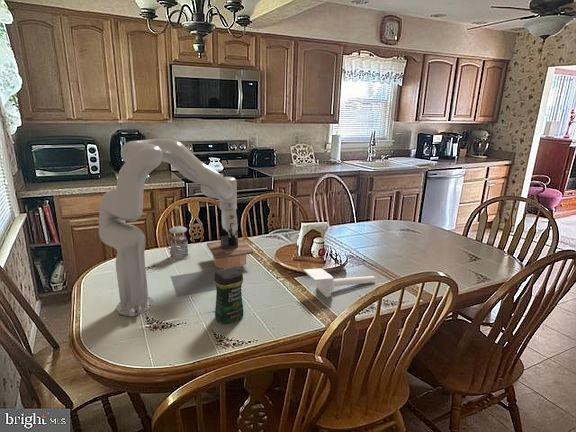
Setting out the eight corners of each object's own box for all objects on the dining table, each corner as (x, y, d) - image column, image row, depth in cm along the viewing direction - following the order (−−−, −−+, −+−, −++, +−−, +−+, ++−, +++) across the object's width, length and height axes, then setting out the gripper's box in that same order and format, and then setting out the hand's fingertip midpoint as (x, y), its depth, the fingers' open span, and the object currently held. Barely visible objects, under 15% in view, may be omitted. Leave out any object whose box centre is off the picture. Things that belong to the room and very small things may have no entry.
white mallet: (303, 269, 151) (368, 265, 165) (300, 289, 153) (364, 283, 167) (314, 279, 143) (382, 274, 157) (311, 300, 145) (378, 293, 160)
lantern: (193, 258, 181) (190, 207, 173) (169, 263, 175) (165, 211, 167) (186, 251, 189) (183, 202, 181) (162, 256, 182) (158, 206, 174)
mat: (223, 289, 153) (223, 288, 153) (177, 298, 146) (177, 296, 146) (213, 270, 169) (213, 269, 169) (170, 277, 162) (170, 276, 162)
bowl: (249, 266, 173) (249, 252, 171) (218, 271, 168) (218, 257, 166) (240, 255, 185) (239, 241, 183) (211, 259, 180) (210, 245, 178)
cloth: (253, 253, 170) (253, 241, 169) (215, 259, 164) (215, 246, 162) (241, 240, 185) (241, 228, 183) (206, 245, 178) (206, 233, 177)
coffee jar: (222, 327, 129) (221, 277, 123) (212, 316, 135) (209, 268, 129) (247, 318, 135) (246, 270, 129) (236, 308, 141) (235, 261, 135)
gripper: (242, 209, 162) (243, 247, 167) (231, 199, 177) (232, 234, 182) (225, 211, 159) (226, 249, 164) (215, 200, 174) (216, 236, 179)
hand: (229, 241), depth 173 cm, fingers open, 9 cm apart
